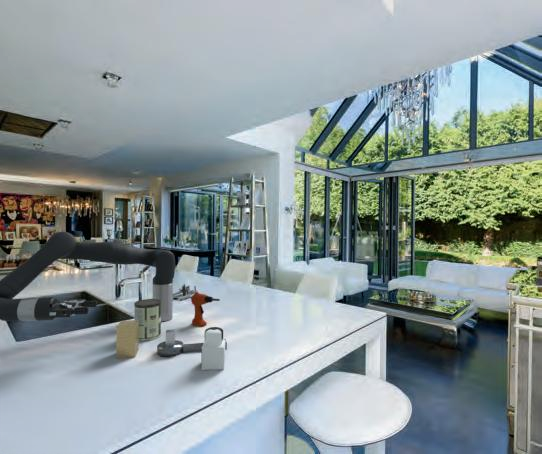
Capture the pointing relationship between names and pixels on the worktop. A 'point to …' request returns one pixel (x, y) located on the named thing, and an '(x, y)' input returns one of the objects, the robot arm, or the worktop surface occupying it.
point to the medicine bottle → (213, 350)
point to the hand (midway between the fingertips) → (92, 307)
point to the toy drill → (200, 308)
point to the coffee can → (148, 318)
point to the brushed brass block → (127, 339)
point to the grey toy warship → (185, 292)
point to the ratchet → (177, 346)
